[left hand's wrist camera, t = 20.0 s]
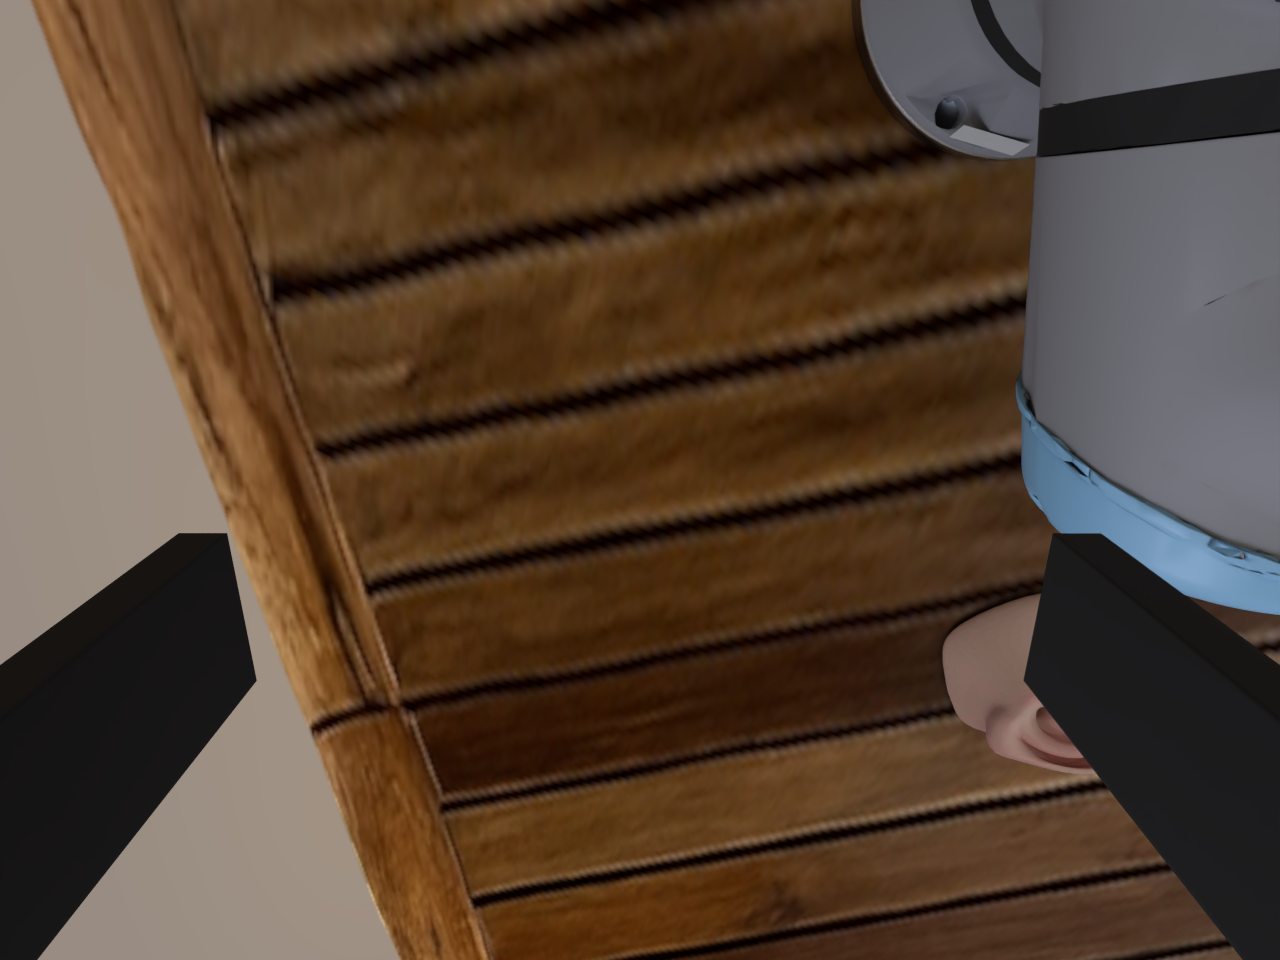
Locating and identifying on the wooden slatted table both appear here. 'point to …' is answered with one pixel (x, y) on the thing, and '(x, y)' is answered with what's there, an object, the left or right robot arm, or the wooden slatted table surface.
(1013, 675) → the anatomical model
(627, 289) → the wooden slatted table surface
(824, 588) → the wooden slatted table surface
